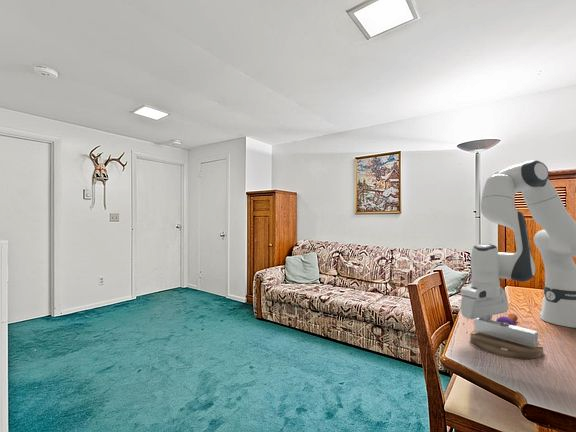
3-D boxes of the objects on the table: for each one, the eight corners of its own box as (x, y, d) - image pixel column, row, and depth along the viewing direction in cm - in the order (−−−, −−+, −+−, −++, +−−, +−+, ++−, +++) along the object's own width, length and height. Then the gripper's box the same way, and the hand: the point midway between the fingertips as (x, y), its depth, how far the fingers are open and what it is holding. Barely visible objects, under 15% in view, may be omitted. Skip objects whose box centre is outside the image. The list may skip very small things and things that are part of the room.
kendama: (523, 313, 125) (515, 322, 111) (519, 327, 126) (511, 337, 111) (506, 308, 129) (496, 315, 115) (502, 321, 130) (492, 330, 116)
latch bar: (475, 331, 109) (475, 317, 109) (479, 329, 111) (479, 315, 111) (534, 348, 95) (534, 332, 95) (537, 345, 97) (537, 329, 97)
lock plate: (473, 330, 117) (473, 323, 117) (540, 343, 105) (540, 335, 105) (467, 348, 101) (467, 341, 101) (545, 366, 89) (545, 357, 89)
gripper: (495, 284, 116) (495, 320, 116) (457, 290, 109) (457, 328, 109) (513, 288, 110) (513, 325, 111) (473, 294, 103) (474, 335, 103)
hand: (485, 327), depth 110 cm, fingers closed, pressing on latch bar
